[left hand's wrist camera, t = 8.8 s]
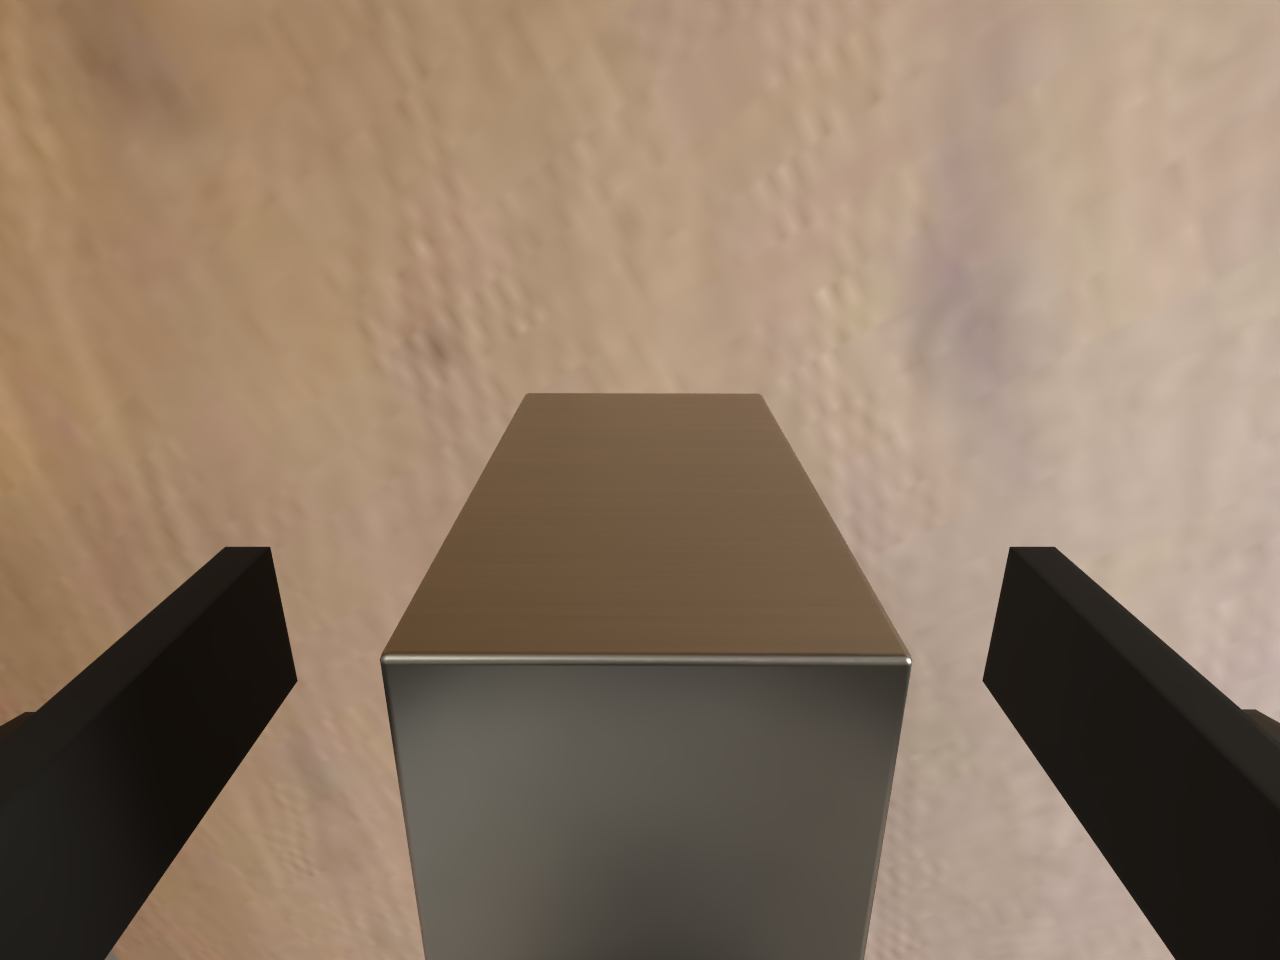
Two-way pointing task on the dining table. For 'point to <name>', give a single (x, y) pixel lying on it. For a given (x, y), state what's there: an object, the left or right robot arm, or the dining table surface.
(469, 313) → the dining table surface
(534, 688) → the bar
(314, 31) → the dining table surface
